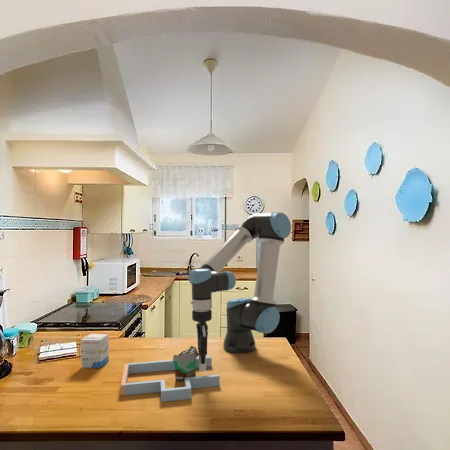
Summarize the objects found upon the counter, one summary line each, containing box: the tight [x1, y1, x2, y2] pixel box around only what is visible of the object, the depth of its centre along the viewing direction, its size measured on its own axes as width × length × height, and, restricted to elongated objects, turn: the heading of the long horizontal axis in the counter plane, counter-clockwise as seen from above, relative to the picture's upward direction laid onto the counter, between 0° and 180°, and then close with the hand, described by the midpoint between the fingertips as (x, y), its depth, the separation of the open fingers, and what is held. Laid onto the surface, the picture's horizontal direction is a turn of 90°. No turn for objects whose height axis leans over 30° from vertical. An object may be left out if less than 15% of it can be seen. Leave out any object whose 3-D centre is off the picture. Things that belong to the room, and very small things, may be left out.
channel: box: [120, 356, 221, 403], centre depth 133 cm, size 34×28×4 cm
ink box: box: [80, 333, 110, 369], centre depth 153 cm, size 9×8×12 cm
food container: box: [172, 345, 199, 382], centre depth 138 cm, size 12×6×10 cm, turn 152°
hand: (202, 370), depth 139 cm, fingers closed
